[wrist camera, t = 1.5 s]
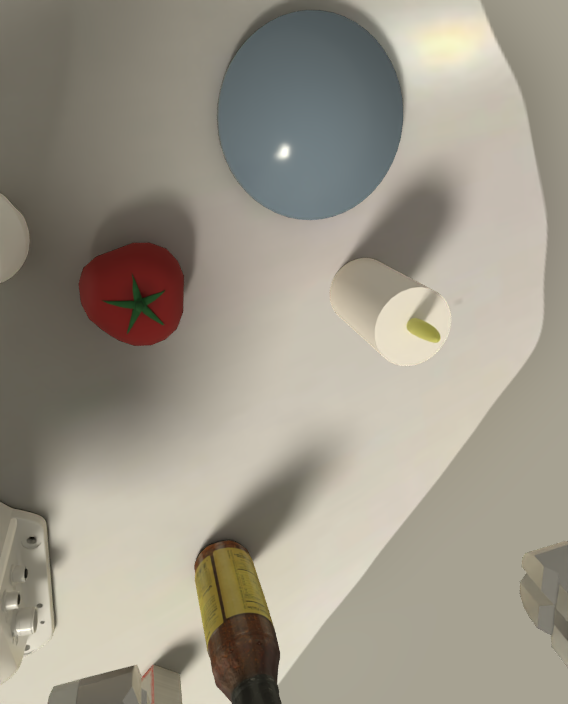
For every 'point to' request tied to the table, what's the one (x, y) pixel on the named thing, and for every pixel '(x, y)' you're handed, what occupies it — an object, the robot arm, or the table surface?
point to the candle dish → (310, 115)
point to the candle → (391, 311)
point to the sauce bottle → (237, 625)
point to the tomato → (134, 293)
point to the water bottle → (12, 239)
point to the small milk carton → (162, 686)
